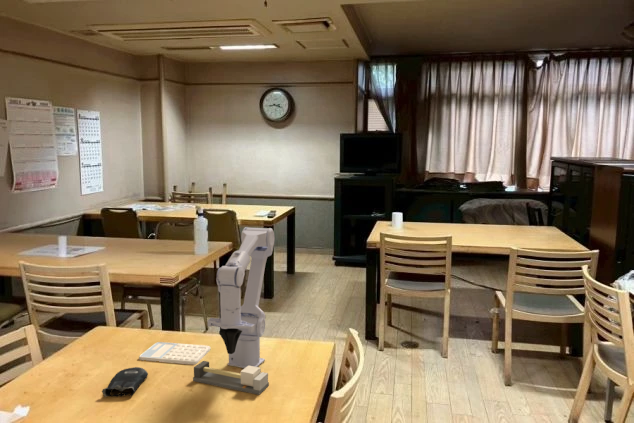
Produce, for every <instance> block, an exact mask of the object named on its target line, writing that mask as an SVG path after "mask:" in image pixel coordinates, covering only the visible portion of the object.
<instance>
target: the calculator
mask: <svg viewBox="0 0 634 423" xmlns="http://www.w3.org/2000/svg"><path fill="white" fill-rule="evenodd" d="M210 351H211V346H210V345H206V344H205V345H204V344H191V343H180V342H179V343H178V342H177V343H176V342H168V341H167V342H166V341H157V342H155V343H154V344H152V345H151V346H149V348H147V349H145V351H143V352H142V353H141V354H140V355H139V356H138V360H140V361H144V360H146V362H156V361H159V363H169V364H178V365H179V364H181V365H182V364H183V365H192V366H193V365H195V366H196V365H198V364H199V363H200V361H201V360H202V359H203V358H204V357H205V356H206V355H207V354H208V353H210Z"/></svg>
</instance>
